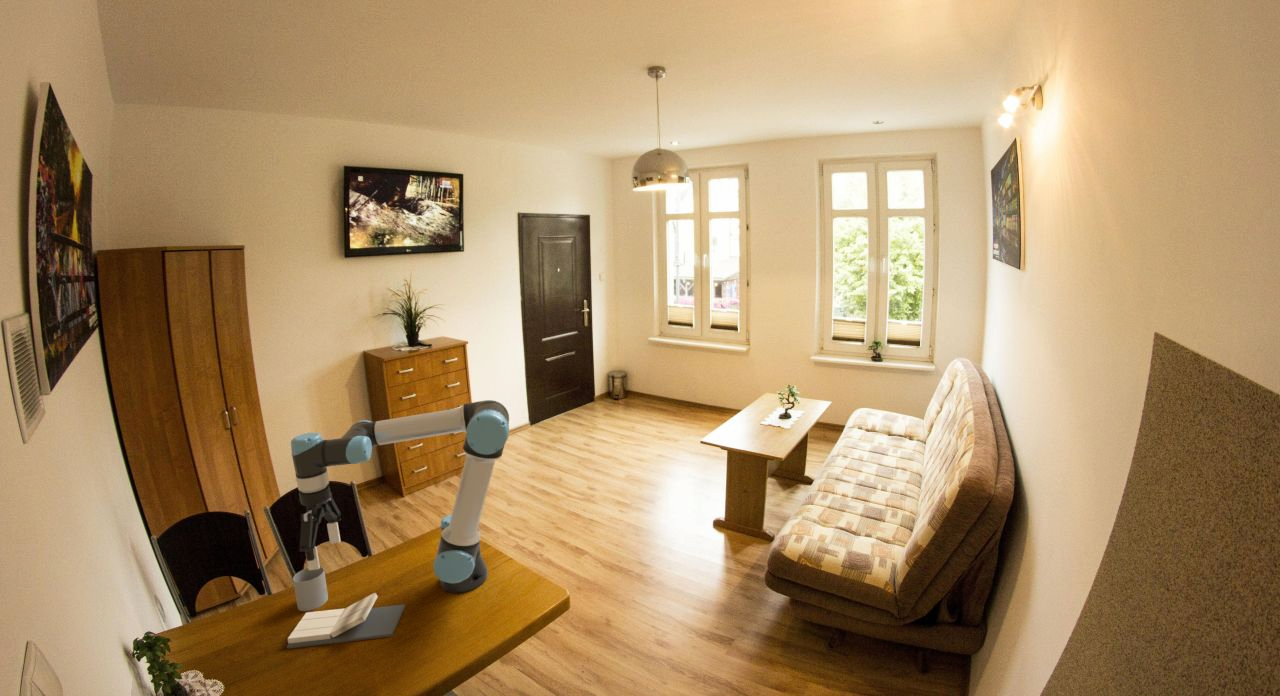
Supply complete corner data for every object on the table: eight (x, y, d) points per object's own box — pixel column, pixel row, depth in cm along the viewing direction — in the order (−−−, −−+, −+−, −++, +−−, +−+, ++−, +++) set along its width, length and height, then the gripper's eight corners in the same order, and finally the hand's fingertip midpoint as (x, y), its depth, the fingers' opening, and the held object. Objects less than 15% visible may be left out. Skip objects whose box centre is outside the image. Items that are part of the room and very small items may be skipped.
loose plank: (377, 596, 161) (374, 592, 160) (364, 620, 150) (361, 616, 150) (348, 612, 160) (345, 608, 160) (332, 637, 149) (329, 633, 149)
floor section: (405, 606, 164) (404, 599, 163) (392, 636, 151) (391, 628, 150) (308, 617, 160) (307, 610, 159) (287, 648, 147) (285, 640, 146)
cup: (313, 612, 162) (309, 583, 160) (290, 609, 163) (286, 580, 162) (334, 595, 170) (330, 567, 168) (312, 592, 171) (308, 565, 170)
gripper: (320, 470, 160) (330, 534, 164) (275, 509, 136) (289, 583, 140) (346, 468, 161) (355, 531, 165) (306, 506, 137) (319, 579, 141)
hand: (325, 555), depth 152 cm, fingers open, 13 cm apart
